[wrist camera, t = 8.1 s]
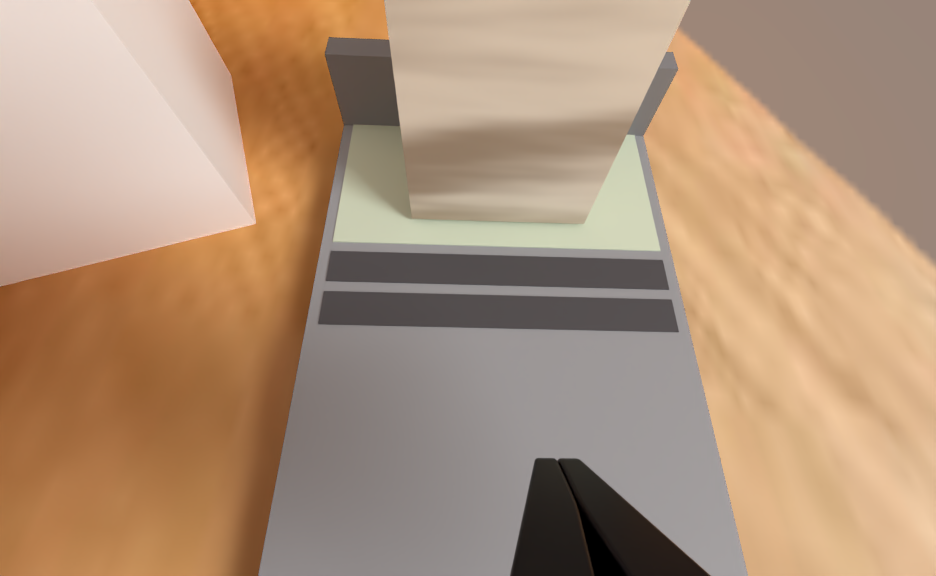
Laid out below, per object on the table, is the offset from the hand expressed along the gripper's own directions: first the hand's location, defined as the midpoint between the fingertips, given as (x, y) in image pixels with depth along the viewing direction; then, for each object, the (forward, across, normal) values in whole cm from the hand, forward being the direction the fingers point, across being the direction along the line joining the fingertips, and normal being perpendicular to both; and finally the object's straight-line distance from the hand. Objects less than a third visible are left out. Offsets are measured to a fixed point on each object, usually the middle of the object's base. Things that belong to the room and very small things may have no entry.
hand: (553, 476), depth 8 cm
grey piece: (+11, 0, +2) cm, 11 cm away
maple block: (+15, 0, -5) cm, 16 cm away
